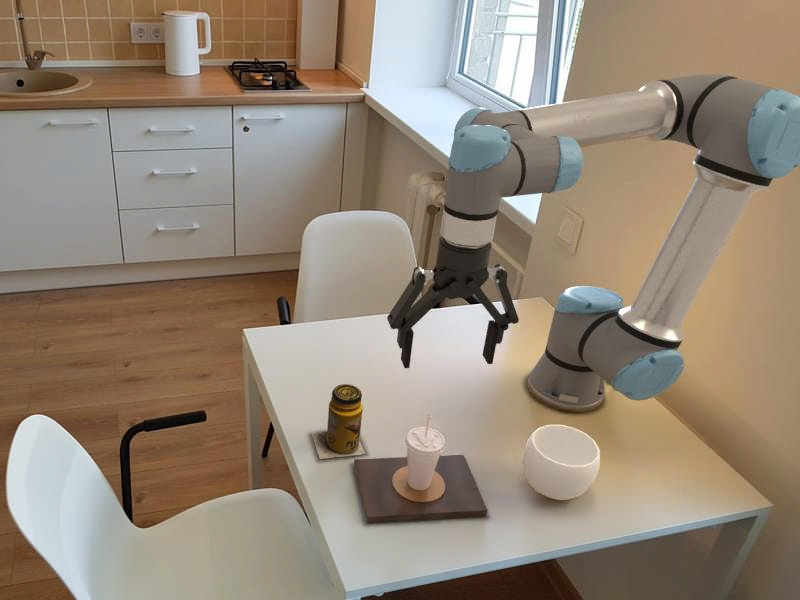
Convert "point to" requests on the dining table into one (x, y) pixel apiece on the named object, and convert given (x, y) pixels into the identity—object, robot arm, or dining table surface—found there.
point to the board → (417, 491)
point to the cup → (561, 461)
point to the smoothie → (423, 455)
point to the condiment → (342, 424)
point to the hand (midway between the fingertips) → (446, 361)
